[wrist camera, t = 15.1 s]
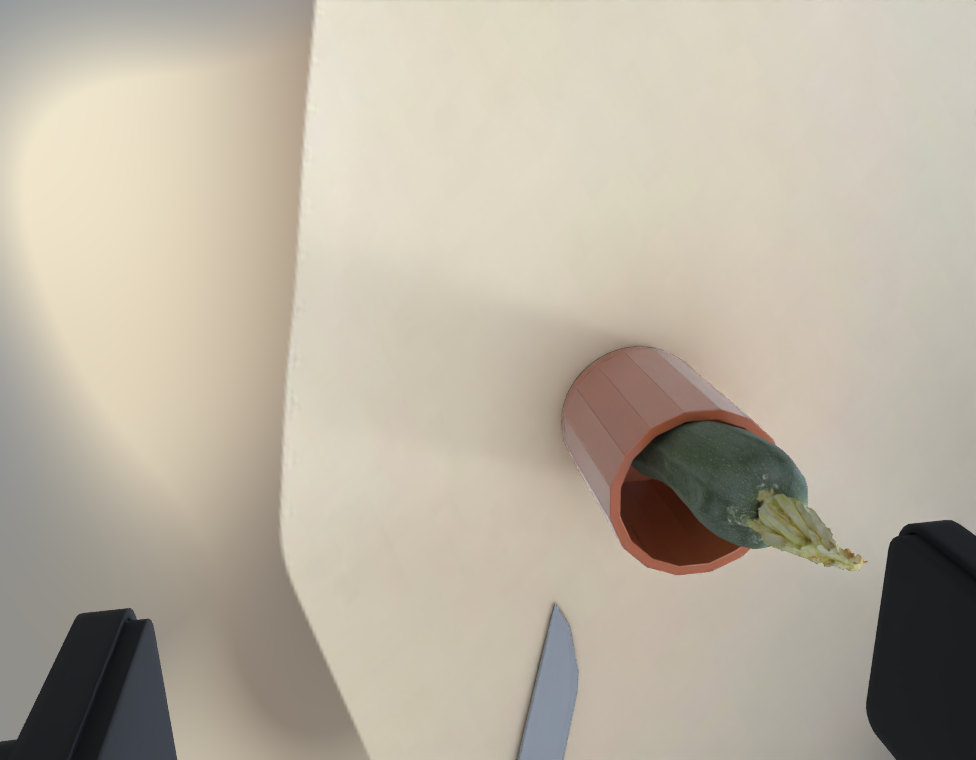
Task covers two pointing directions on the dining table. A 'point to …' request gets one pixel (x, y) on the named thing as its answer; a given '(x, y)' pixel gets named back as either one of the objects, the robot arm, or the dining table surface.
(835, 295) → the dining table surface
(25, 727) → the robot arm
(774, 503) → the vegetable
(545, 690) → the chef's knife
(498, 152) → the dining table surface
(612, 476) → the cup
